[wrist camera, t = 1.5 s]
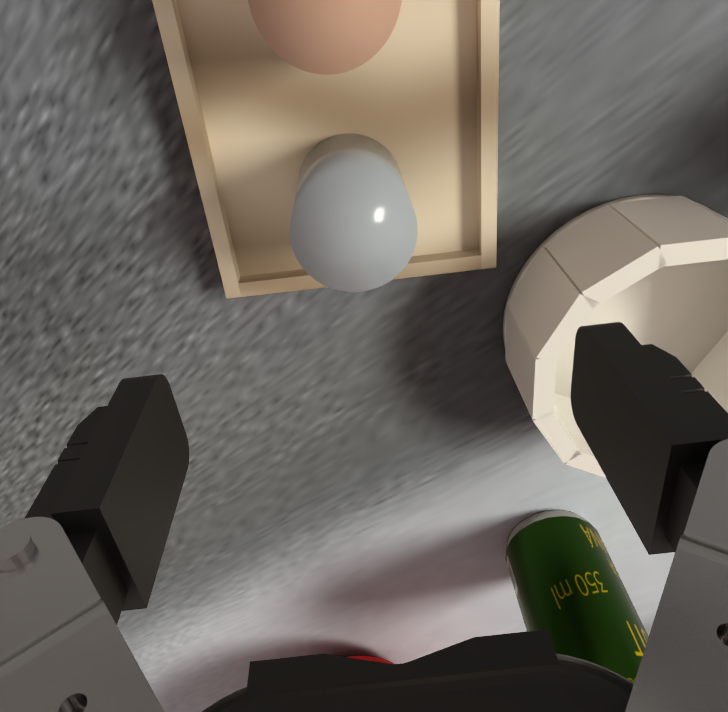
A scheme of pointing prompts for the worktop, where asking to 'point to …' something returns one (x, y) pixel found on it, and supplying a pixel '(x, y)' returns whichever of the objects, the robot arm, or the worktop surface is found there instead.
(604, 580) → the beer can
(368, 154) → the gray metal cylinder
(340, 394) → the worktop surface
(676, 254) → the bowl
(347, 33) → the beige cylinder
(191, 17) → the parts tray
